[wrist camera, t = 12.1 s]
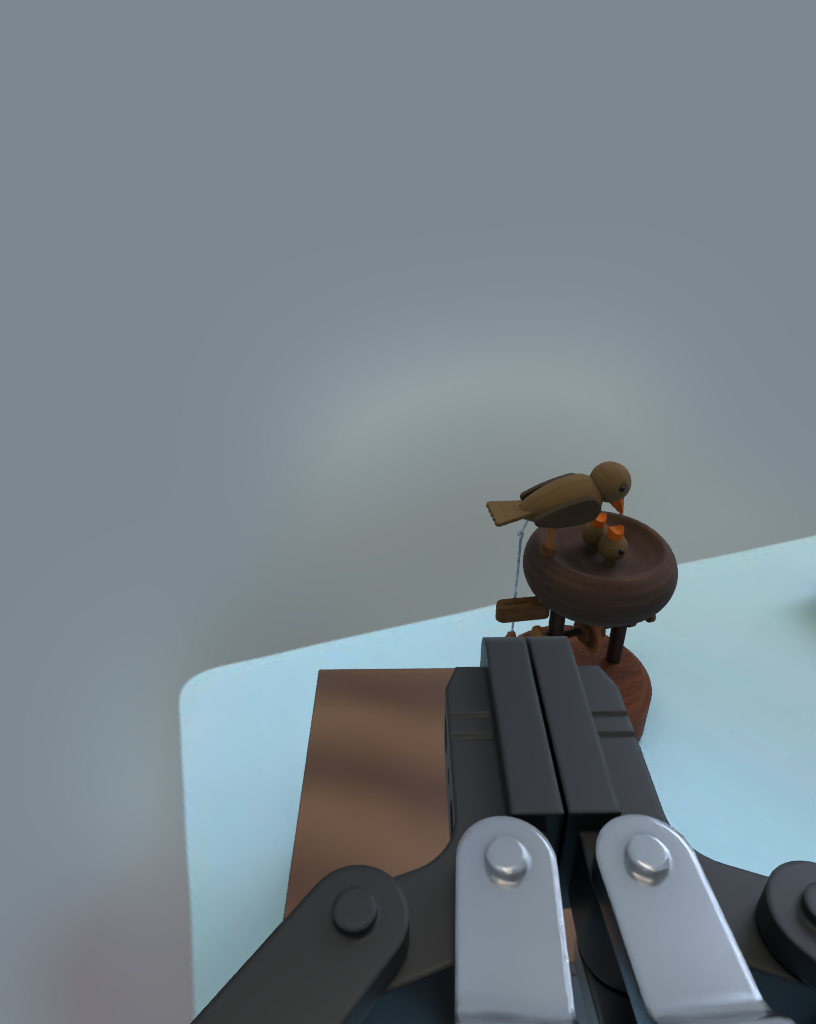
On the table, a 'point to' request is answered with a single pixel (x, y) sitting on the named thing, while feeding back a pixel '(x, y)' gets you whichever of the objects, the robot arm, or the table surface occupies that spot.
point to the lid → (375, 778)
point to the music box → (590, 574)
